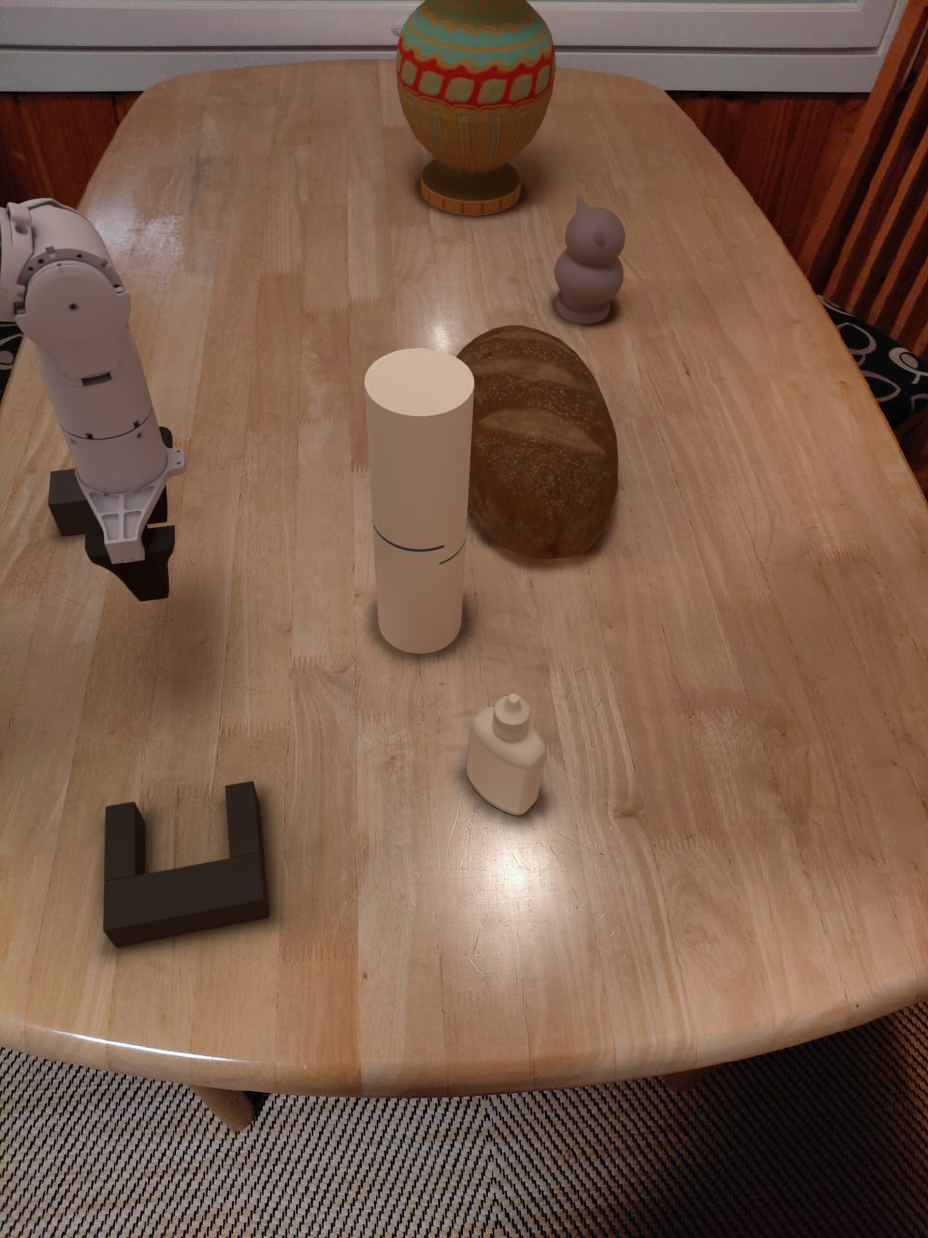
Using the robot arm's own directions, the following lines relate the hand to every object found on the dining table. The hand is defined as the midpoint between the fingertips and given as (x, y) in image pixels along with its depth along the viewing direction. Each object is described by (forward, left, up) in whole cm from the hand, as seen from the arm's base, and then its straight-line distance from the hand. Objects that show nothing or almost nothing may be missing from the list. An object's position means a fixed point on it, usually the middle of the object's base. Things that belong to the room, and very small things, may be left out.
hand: (153, 557), depth 69 cm
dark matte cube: (-8, +17, -11) cm, 22 cm away
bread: (+34, +17, -11) cm, 40 cm away
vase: (+41, +72, -11) cm, 84 cm away
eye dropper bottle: (+23, -18, -11) cm, 31 cm away
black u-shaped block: (0, -20, -11) cm, 23 cm away
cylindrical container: (+20, -1, -11) cm, 23 cm away
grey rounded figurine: (+48, +42, -11) cm, 65 cm away
